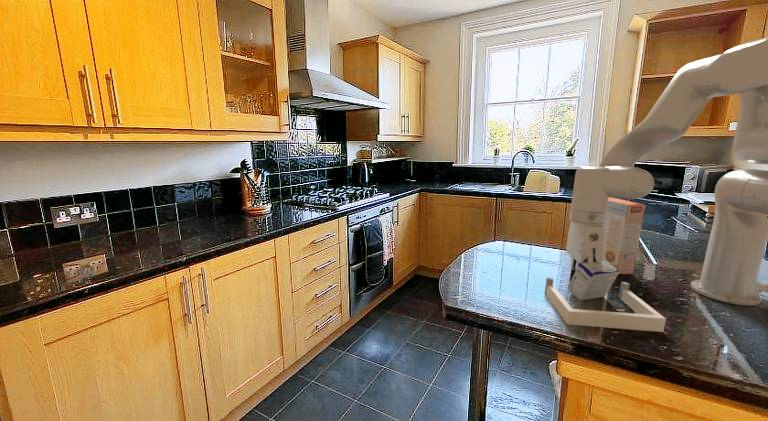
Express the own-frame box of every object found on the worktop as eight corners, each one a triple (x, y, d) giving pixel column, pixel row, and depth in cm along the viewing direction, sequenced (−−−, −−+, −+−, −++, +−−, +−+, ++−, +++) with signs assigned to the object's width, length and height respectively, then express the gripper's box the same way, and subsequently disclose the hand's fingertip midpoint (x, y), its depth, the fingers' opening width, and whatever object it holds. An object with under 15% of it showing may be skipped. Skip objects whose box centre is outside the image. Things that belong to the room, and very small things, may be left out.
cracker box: (634, 275, 96) (647, 204, 92) (615, 275, 96) (627, 204, 91) (598, 258, 110) (608, 195, 105) (581, 258, 109) (590, 195, 105)
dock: (623, 298, 82) (626, 282, 81) (663, 332, 68) (667, 312, 67) (544, 293, 84) (546, 277, 83) (566, 324, 70) (569, 305, 69)
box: (590, 284, 86) (605, 259, 81) (604, 297, 82) (620, 271, 78) (566, 288, 84) (579, 262, 79) (579, 301, 80) (594, 275, 76)
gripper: (619, 224, 75) (607, 299, 79) (589, 210, 89) (580, 274, 93) (584, 223, 76) (573, 297, 80) (560, 209, 90) (551, 272, 94)
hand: (577, 285), depth 86 cm, fingers closed
